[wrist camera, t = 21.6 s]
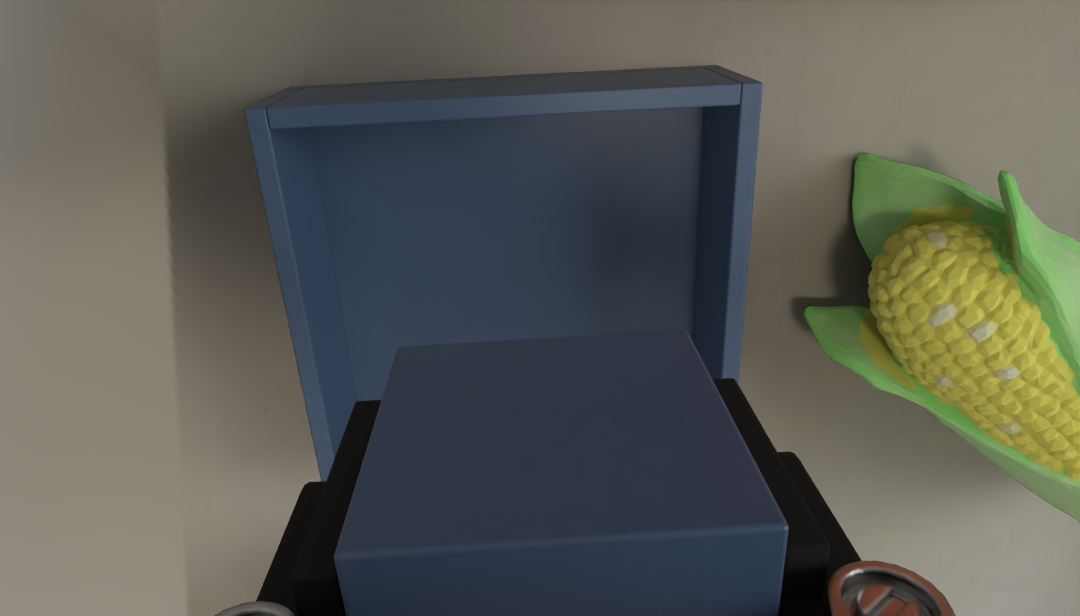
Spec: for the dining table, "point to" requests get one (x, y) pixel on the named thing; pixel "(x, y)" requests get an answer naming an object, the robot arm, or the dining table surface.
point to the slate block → (559, 486)
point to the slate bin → (504, 216)
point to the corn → (968, 319)
